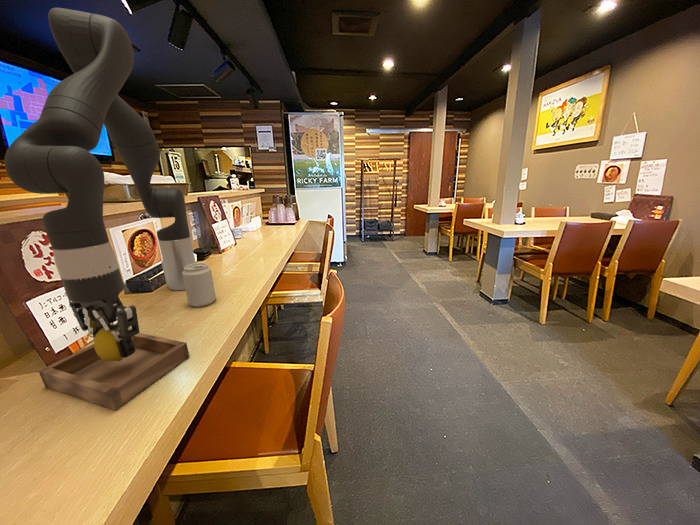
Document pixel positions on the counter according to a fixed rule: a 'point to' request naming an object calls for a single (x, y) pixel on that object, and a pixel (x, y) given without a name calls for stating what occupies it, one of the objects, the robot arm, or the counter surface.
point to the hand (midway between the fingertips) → (117, 351)
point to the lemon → (107, 346)
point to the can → (199, 284)
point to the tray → (115, 371)
